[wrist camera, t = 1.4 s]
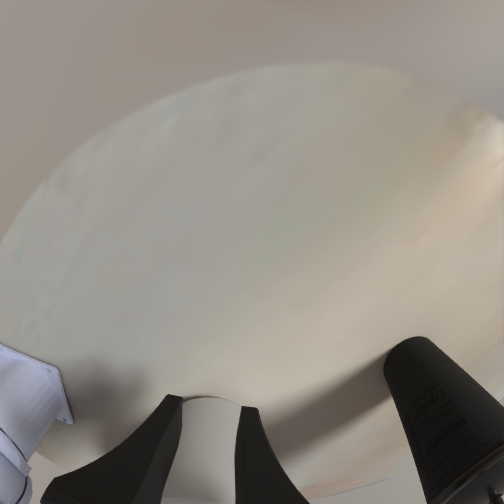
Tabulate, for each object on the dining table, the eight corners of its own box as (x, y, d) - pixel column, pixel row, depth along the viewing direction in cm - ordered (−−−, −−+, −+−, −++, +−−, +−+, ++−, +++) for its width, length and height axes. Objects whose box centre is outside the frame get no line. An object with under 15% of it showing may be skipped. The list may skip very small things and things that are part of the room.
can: (237, 454, 25) (230, 560, 13) (163, 427, 24) (130, 534, 12) (275, 409, 23) (283, 536, 11) (190, 376, 22) (153, 508, 10)
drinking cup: (401, 406, 23) (480, 583, 4) (348, 375, 22) (427, 615, 3) (460, 345, 21) (585, 503, 2) (416, 303, 20) (589, 510, 1)
